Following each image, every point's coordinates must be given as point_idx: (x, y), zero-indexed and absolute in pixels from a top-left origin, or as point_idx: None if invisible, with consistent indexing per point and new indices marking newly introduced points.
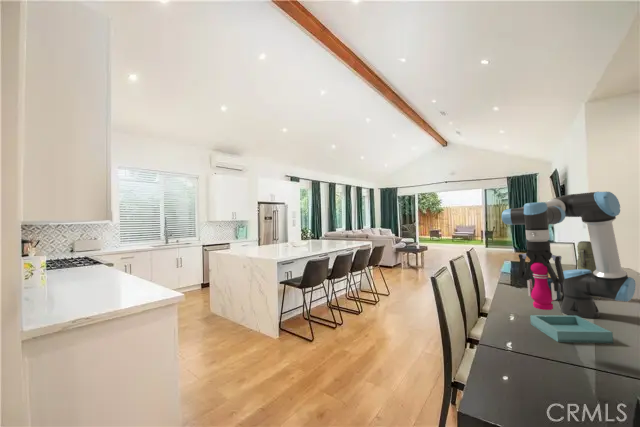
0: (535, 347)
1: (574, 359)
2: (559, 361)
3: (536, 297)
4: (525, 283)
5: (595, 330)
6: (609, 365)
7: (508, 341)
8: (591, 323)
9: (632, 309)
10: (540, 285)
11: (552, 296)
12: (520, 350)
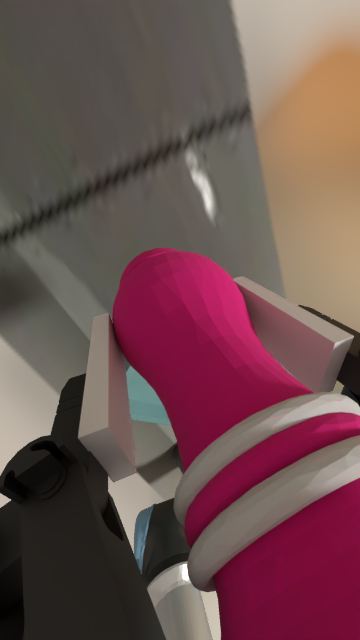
0: (158, 239)
1: (69, 252)
2: (74, 200)
3: (185, 255)
4: (327, 320)
5: (132, 405)
6: (15, 292)
7: (215, 214)
8: (144, 418)
9: (163, 496)
10: (201, 336)
11: (106, 326)
12: (168, 177)
